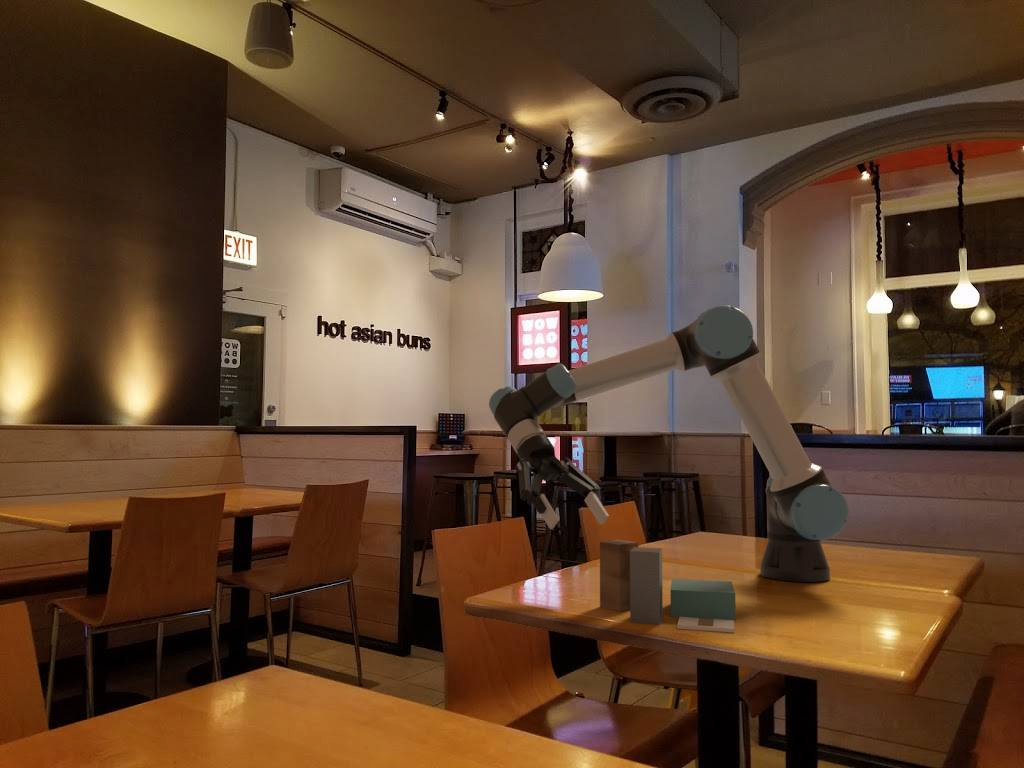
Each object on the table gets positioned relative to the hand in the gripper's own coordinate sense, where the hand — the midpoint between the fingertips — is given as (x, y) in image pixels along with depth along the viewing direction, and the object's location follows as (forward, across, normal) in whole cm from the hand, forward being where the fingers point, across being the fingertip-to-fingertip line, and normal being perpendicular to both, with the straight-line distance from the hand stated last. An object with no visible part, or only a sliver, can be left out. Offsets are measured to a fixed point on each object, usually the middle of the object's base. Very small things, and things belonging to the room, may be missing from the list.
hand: (580, 522), depth 149 cm
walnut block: (+18, 0, -3) cm, 18 cm away
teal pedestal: (+26, -10, +5) cm, 28 cm away
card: (+31, -1, +10) cm, 33 cm away
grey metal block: (+25, +3, +4) cm, 25 cm away
